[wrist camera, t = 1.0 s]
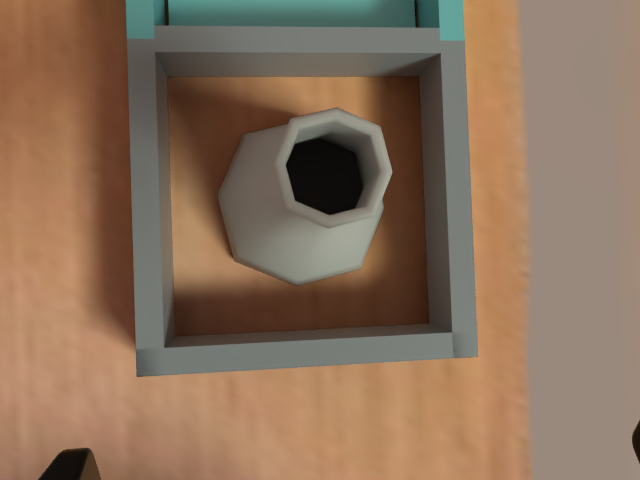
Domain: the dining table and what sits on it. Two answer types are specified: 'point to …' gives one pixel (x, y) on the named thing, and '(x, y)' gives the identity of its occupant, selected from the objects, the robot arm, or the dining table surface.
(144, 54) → the tray
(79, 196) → the dining table surface
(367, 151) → the flask
